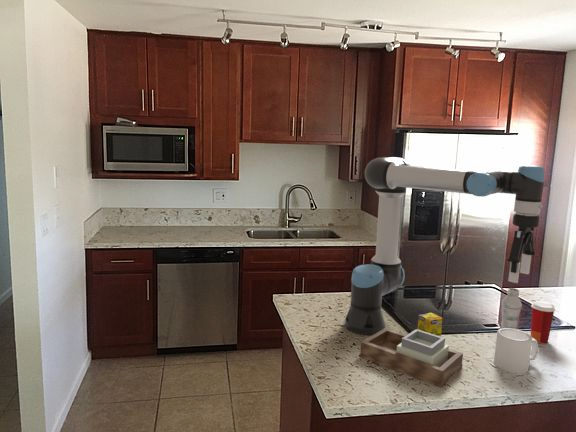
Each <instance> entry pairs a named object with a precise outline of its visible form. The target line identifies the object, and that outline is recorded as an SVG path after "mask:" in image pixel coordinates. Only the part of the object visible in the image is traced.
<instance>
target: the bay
mask: <svg viewBox="0 0 576 432" xmlns="http://www.w3.org/2000/svg"><path fill="white" fill-rule="evenodd" d="M406 335H407V334H405V333H403V332H399V331H396V330H392V329H390V328H386V327H385V328H384V329H383V330H381V331H379V332H377V333H376V334H371V336H369V337H367V338H365V339H363V340H361V342H360V352H359V357H360V358H362V359H363V360H364V359H365V360H367V361H370V362H373V363H375V364H378V365H381V366H383V367H385V368H388V369H390V370H394V371H396V372H399V373H401V374H404V375H406V376H409V377H412V378H414V379H417V380H419V381H421V382H424V383H426V384H430V385H431V386H432V385H433V386H434V387H438V388H442V387H443V386H444V385H445V384H446V383H447V382H448V381H449V380H450V379H451V378H452V377H454V375H456V374H457V373H458V372H459V371H460V370H461V369H462V368H463V358H464V353H463V352H462V351H461V352H460V351H457V350H454V349H452V348H449V350H448V360H447V362H445V363H444V364H443V365H442V366H441V367H440V368H439V367H437V366H434V365H431V364H428V363H425V362H423V361H420V360H417V359H414V358H411V357H409V356H406V355H403V354H400V353H397V345H399V344H400V343H402V338H403V337H405V336H406Z"/></svg>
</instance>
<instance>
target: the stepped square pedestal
mask: <svg viewBox="0 0 576 432" xmlns="http://www.w3.org/2000/svg"><path fill="white" fill-rule="evenodd" d="M405 335H406V336H405V337H403V338H402V343H400V344H399V345H397V353H400V354H403V355H406V356H409V357H411V358H414V359H417V360H420V361H423V362H425V363H428V364H431V365H434V366H437V367H439V368H440V367H441V366H442V365H443V364H444V363H445V362H447V360H448V350H449V349H450V348H449V347H450V345H449V344H446V338H445V337H443V336H441V337H440V336H437V335H434V334H430V333H427V332H424V331H421V330H418V328H416V329H414V330H412V331H411V332H410V333H409V332H408V334H405Z"/></svg>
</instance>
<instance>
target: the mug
mask: <svg viewBox="0 0 576 432" xmlns="http://www.w3.org/2000/svg"><path fill="white" fill-rule="evenodd" d="M538 353H539V343H537V340H535V339H534V338H532V336H531V334H529V333H528V332H526V331H523V330H520V329H518V330H517V329H511V328H502V329H500V328H499V329H497V332H496V340H495V349H494V358H493V364H494V365H495V367H497V368H499V369H500V370H502V371H505V372H509V373H512V374H513V373H514V374H523V373H527V372H528V371H529V366H530V361H534V360H536V358H537V356H538Z"/></svg>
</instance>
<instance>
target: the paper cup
mask: <svg viewBox="0 0 576 432" xmlns="http://www.w3.org/2000/svg"><path fill="white" fill-rule="evenodd" d="M530 307H531V320H530V321H531V325H530V335H531V336H532V338H534V339H535V340H537V344H543V345H545V344H548V342H549V338H550V333H551V328H552V323H553V319H554V313H555V312H556V308H555V305H554V304H553V303H550V302H547V301H540V300H536V301H533V302H532V303H531V305H530Z"/></svg>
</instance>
